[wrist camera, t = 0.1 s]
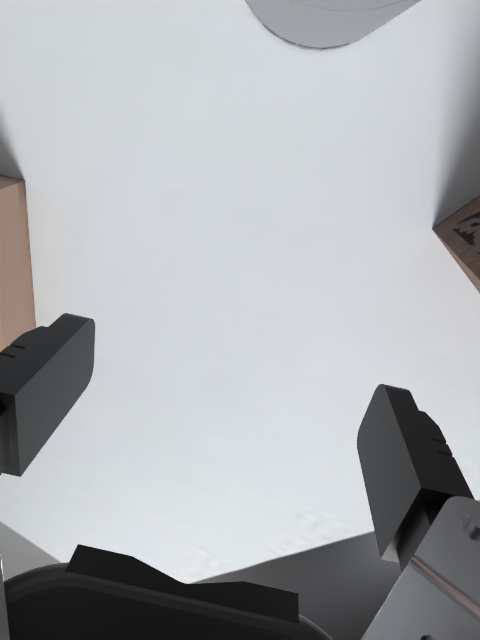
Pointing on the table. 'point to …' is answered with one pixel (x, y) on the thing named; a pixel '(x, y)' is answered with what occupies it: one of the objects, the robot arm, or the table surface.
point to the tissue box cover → (463, 239)
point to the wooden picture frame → (14, 263)
